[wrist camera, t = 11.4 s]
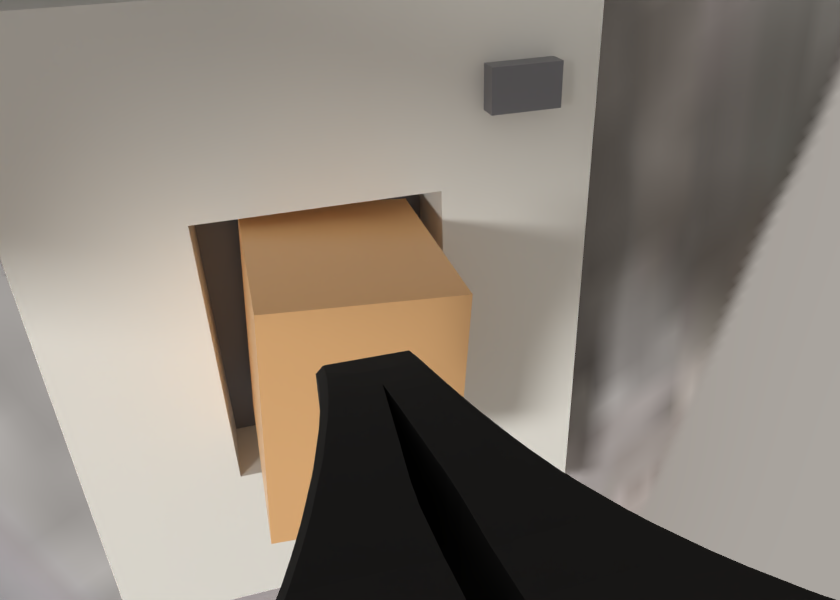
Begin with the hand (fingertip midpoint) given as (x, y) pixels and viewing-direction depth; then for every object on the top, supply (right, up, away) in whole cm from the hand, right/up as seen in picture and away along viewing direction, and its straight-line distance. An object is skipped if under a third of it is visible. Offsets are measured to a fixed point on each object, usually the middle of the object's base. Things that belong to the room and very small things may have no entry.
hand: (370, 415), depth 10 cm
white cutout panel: (-2, +2, +9) cm, 10 cm away
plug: (-2, +2, +9) cm, 9 cm away
